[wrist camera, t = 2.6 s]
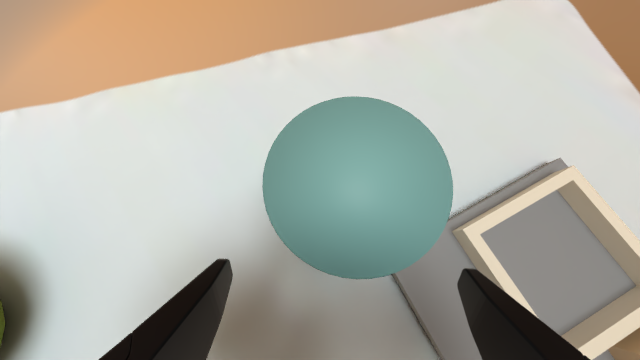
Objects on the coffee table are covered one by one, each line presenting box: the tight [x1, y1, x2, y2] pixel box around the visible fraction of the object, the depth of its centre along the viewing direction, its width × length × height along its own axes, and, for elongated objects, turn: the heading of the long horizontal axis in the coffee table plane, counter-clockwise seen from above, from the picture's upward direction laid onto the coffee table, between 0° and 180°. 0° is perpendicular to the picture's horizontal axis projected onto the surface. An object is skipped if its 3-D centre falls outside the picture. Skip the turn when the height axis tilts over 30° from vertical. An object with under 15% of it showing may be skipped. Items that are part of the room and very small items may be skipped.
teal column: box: [263, 97, 453, 279], centre depth 13 cm, size 5×5×14 cm
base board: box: [393, 158, 640, 360], centre depth 16 cm, size 16×17×4 cm
